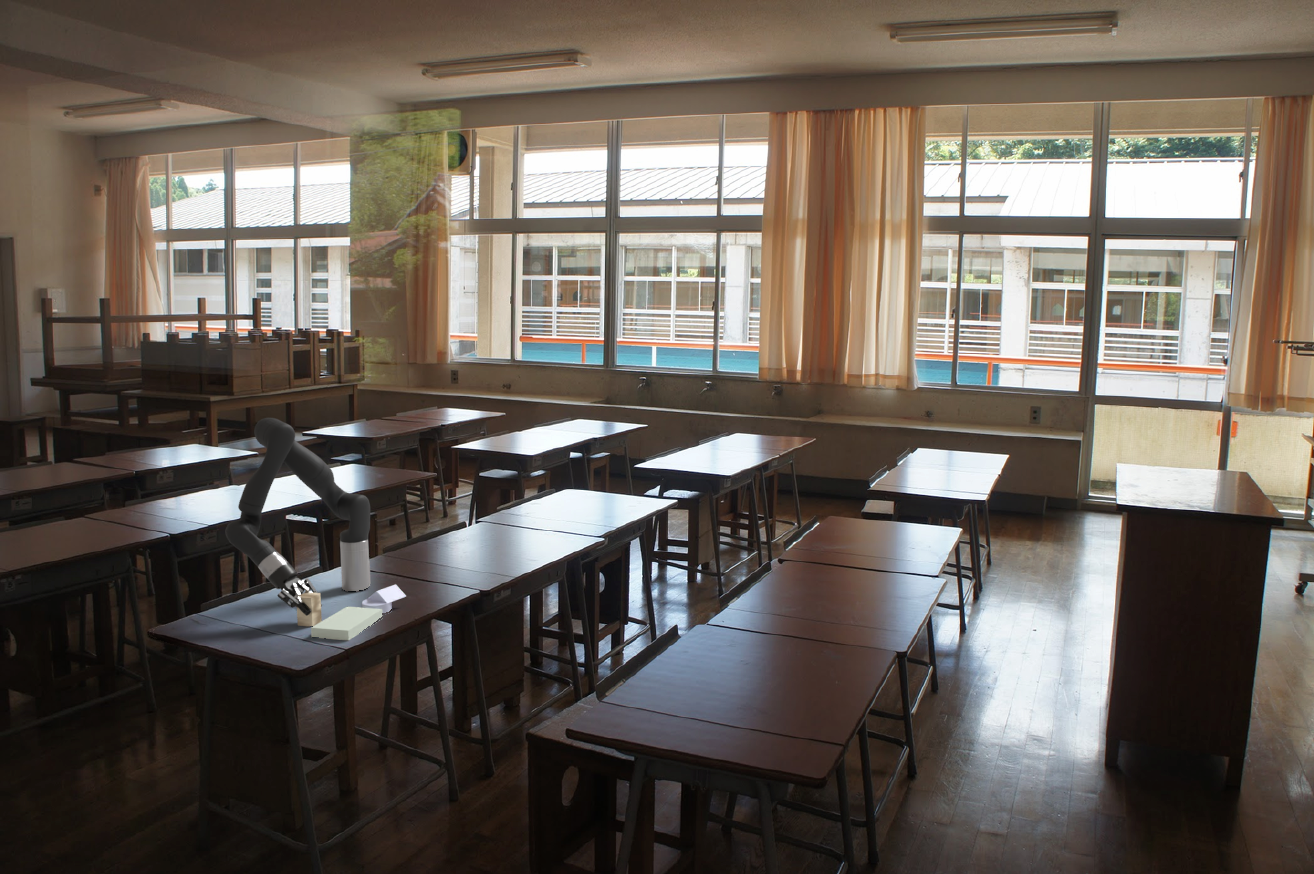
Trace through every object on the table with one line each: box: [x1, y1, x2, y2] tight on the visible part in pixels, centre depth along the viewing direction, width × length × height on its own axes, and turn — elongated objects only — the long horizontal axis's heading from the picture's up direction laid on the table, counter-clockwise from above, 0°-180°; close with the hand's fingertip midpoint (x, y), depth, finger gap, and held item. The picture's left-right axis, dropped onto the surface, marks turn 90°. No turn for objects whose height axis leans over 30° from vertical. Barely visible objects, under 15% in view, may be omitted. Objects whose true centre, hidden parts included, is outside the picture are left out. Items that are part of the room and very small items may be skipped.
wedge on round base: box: [361, 583, 407, 613], centre depth 292 cm, size 9×7×13 cm
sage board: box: [310, 606, 384, 641], centre depth 275 cm, size 20×12×3 cm, turn 169°
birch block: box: [296, 591, 323, 627], centre depth 278 cm, size 5×5×9 cm
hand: (314, 610), depth 277 cm, fingers closed on birch block, 5 cm apart
